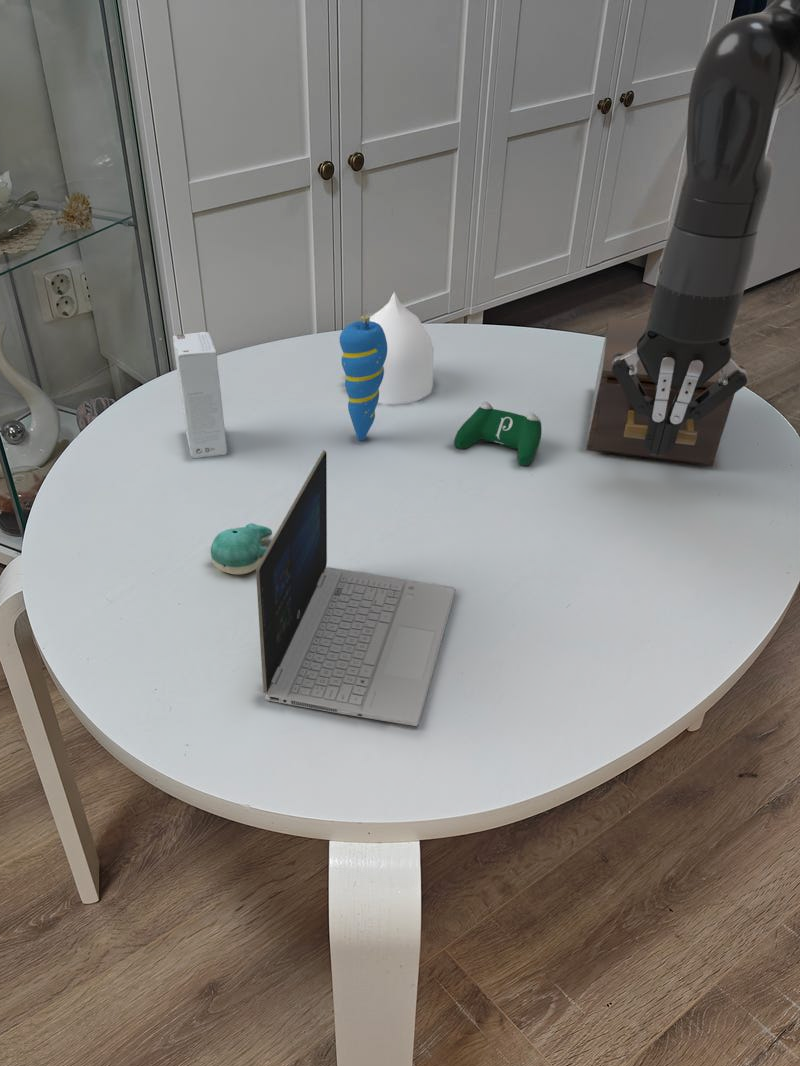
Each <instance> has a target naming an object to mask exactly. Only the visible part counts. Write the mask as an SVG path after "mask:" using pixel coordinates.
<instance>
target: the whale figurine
mask: <svg viewBox="0 0 800 1066" xmlns="http://www.w3.org/2000/svg"><path fill="white" fill-rule="evenodd" d="M272 535H273V530H272V529H271V528H269V527H267V526H264V525H259V524H255V523H248V524H246V525H245V526H243V527H235V528H228V529H225V530H222V531H221V532H219V533H218V534H217V535H216V536H215V537H214V539H213V540H212V543H211V546H210V557H211V561H212V564H213V565H214V567H215V568H216V569H218V570H219V571H221V572H223V573H227V574H231V575H245V574H249V573H252V572H253V571H256V568H257V566H258V564H259V562H260V560H261V559H262V557H263V555H264V553H265V552H266V550H267V548H268V546H262V542H264V541H266V540H267V539H269V538H270V537H272Z"/></svg>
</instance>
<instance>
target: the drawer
mask: <svg viewBox="0 0 800 1066" xmlns="http://www.w3.org/2000/svg"><path fill="white" fill-rule="evenodd" d="M641 385H642V387H643V388H644V390H645V392H646V394H647V396H648V397H650V398H652V399H654V393H655V385H656V384H647V383H641ZM706 389H707V388H695V390H694V392H693V395H692V398H691V401H692V400H694V399H695V398H696V397H697V396H699V395H700V394H701V393H702V392H704V391H705V390H706ZM675 391H676V388H670V393H669V399H668V403H667V408H666V414H668V413H669V409H670V406H671V403H672V400H673V397H674V394H675ZM728 400H729V398H728V399H727V400H725V401H724V402H723V403H721V404H720V405H719V406H717V407H716V408H715V409H714V410H712V411H711V412H710V413H708V414H707V415H706V416H704V417H703V418H702V419H700V420H697V421H695V420H693V419H689V420H685V421H683V422H682V423H681V424H680V427H679V431H678V434H677V438H676V442H675V446H674V448H673V449H672V451H671V452H670V451H666V453H665V456H657V455H650V449H646V447H645V436H646V432H647V428H648V424H649V420H650V418H649V417H648V416H647V415H645V414H638V413H637V412H636V411H635V409H634V408H633V406H632V404H631V403H630V401H629V399H628V397H627V396H626V394H625V392H624V391H623V389H622V387H621V385H620V384H619V382H618V380H617V379H615V378H608V379H606V383H605V388H604V393H603V398H602V403H601V407H600V412H599V417H598V422H597V427H596V431H595V436H594V441H593V447H592V449H594V450H602V451H610V452H618V453H626V454H633V455H641V456H649V457H657V458H665V459H673V460H681V461H689V462H697V463H705V464H709V463H710V460H711V456H712V453H713V450H714V446H715V443H716V440H717V437H718V433H719V430H720V427H721V423H722V420H723V417H724V414H725V410H726V407H727V404H728ZM691 401H690V402H691ZM666 414H665V415H666Z"/></svg>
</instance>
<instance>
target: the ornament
mask: <svg viewBox="0 0 800 1066" xmlns="http://www.w3.org/2000/svg"><path fill="white" fill-rule="evenodd" d="M366 312H367V309H365V310H364V314H363V315H361V316H360V320H358V321H353V322H351V323H349V324H348V325H347V326H345V327H344V328H343V329H342V331H341V332H340V334H339V345H340V348H341V351H342V355H341V359H340V360H341V366H342V369H343V371H344V374H345V381H344V386H345V390H346V394H347V397H348V403H347V408H348V409H347V410H348V414H349V417H350V421H351V423H352V426H353V429H354V430H353V431H354V432H355V437H356V439H357V441H358V442H363V441H365V439H366V437H367V435H368V433H369V431H370V429H371V428H372V426H373V424H374V422H375V418H376V408H377V406H378V404H379V403H378V399H379V387H380V385H381V382H382V380H383V377H384V367H383V365H384V362H385V360H386V356H387V341H386V336H385V333H384V331H383V329H382V327H381V326H380V325H379V324H378V323H375V322H372V321H370V317H371V316H370V315H368V314H366Z"/></svg>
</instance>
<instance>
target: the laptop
mask: <svg viewBox="0 0 800 1066" xmlns="http://www.w3.org/2000/svg"><path fill="white" fill-rule="evenodd" d="M327 457H328V456H327V451H326V450H325V449H323V450H322V451H321V453H320V455H319V457H318V458H317V460H316V462H315V464H314V465H313V467H312V469H311V471H310V472H309V474H308V475H307V478H306V479H305V481H304V482H303V485H302V487H301V489H300V490H299V492H298V493H297V495H296V497H295V499H294V501H293V503H292V504H291V506H290V507H289V509H288V511H287V512H286V515H285V516H284V518H283V520H282V521H281V523H280V525H279V527H278V529H277V531H276V532H275V534H274V536H273V537H272V539H271V541H270V543H269V545H268V546H267V547H268V548H267V550H266V552H265V553H264V555H263V557H262V559H261V560H260V562H259V564H258V566H257V568H256V569H255V576H256V594H257V611H258V613H257V614H258V626H259V639H260V640H259V643H260V645H259V646H260V659H261V661H260V662H261V675H262V676H261V677H262V691H263V692H262V693H263V694H265V693H266V695H265V700H266V701H270V702H275V703H279V704H285V705H290V706H296V707H301V708H307V709H311V710H319V711H323V712H330V713H336V714H340V715H347V716H353V717H358V718H363V719H364V718H365V719H371V720H375V721H376V720H377V721H383V722H388V723H395V724H400V725H407V726H414V727H418V726H419V724H420V721H421V717H422V714H423V710H424V706H425V702H426V699H427V697H428V691H429V688H430V685H431V681H432V677H433V674H434V670H435V666H436V663H437V659H438V655H439V652H440V648H441V645H442V642H443V638H444V634H445V630H446V627H447V623H448V620H449V615H450V611H451V609H452V605H453V602H454V598H455V593H456V588H455V587H453V586H449V585H443V584H436V583H430V582H425V581H418V580H417V581H416V580H411V579H406V578H398V577H391V576H385V575H381V574H373V573H368V572H367V573H366V572H361V571H354V570H348V569H341V568H336V567H329V566H327V563H328V531H327V530H328V524H327V523H328V517H327V516H328V514H327V511H328V509H327V508H328V507H327V506H328V504H327V503H328V502H327V501H328V498H327V495H328V493H327V491H328V489H327V487H328V486H327V484H328V483H327V482H328V481H327V479H328V478H327V466H328V465H327V464H328V463H327V460H328V459H327Z"/></svg>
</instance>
